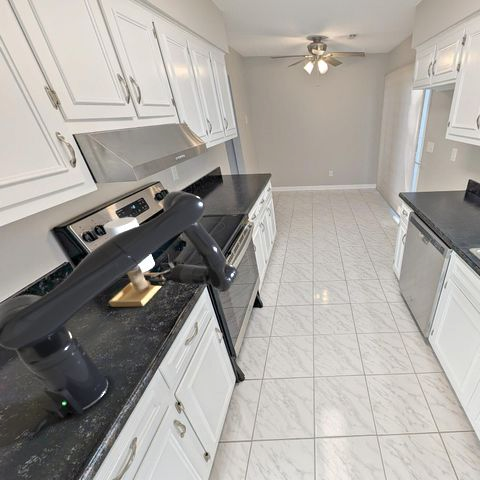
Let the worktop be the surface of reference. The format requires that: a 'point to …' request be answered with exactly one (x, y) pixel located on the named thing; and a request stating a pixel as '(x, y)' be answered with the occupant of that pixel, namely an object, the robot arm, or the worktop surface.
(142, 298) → the tray
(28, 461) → the worktop surface
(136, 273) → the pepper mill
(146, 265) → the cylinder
